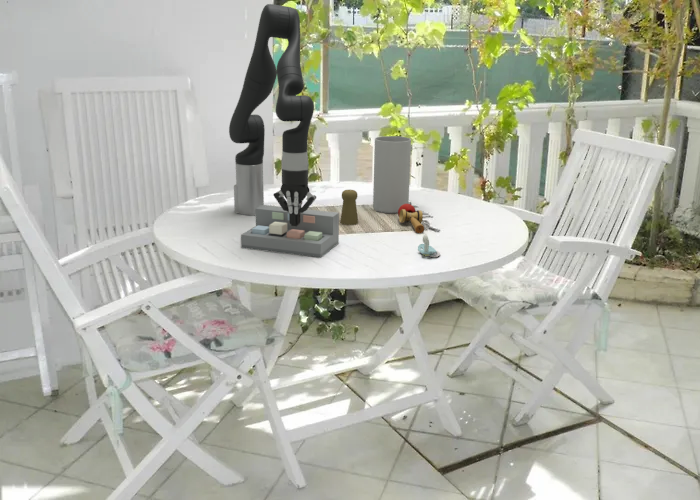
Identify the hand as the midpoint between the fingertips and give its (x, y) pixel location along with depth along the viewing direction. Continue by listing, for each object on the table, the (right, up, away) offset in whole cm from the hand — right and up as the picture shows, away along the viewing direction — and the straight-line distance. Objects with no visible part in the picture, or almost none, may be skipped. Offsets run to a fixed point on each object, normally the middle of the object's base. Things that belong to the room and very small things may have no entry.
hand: (294, 225), depth 220 cm
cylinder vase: (+30, +7, +48) cm, 57 cm away
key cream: (-5, -3, +3) cm, 7 cm away
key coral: (0, -5, +2) cm, 6 cm away
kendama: (+36, 0, +28) cm, 46 cm away
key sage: (+5, -6, 0) cm, 8 cm away
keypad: (-2, -6, +5) cm, 8 cm away
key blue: (-10, -4, +5) cm, 12 cm away
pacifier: (+39, -9, -1) cm, 40 cm away
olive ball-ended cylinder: (+16, +2, +30) cm, 34 cm away
